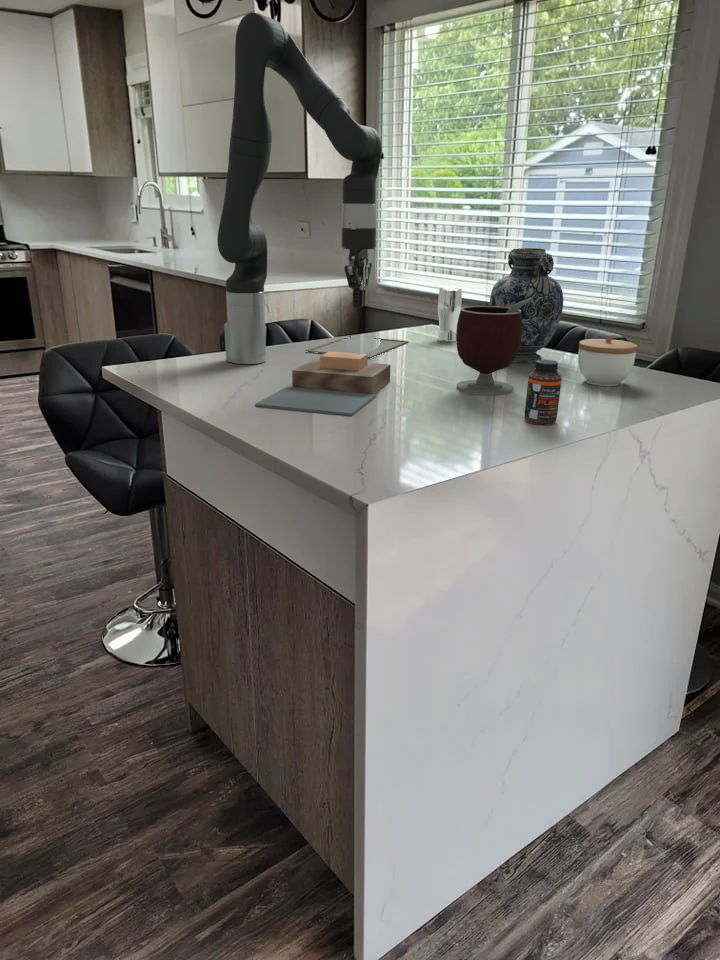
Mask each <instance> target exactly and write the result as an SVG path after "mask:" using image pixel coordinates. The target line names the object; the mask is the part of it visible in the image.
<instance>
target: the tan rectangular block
mask: <svg viewBox="0 0 720 960" xmlns="http://www.w3.org/2000/svg"><path fill="white" fill-rule="evenodd" d="M319 359H320V368H332V369H344V370H357V371H360V370H361V369H363V368H364V367H366V366H368V363H369V361H368V360H369V359H368V354H357V353H344V352H330V351H329V352H327V353H325V354H320V357H319Z"/></svg>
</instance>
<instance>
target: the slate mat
mask: <svg viewBox="0 0 720 960" xmlns="http://www.w3.org/2000/svg"><path fill="white" fill-rule="evenodd" d="M376 398H377V393H375V394H365V393H354V392H343V391H332V390H321V389H310V388H299V387H292V386H288V385H287V386H286V387H283V388H281V389H279V390H278V391H277V392H274V393H272V394H271V395H268V396H267V397H264V398H263V399H261V400H260V401H257V402H255V404H254V407H260V408H269V409H270V408H271V409H280V410H287V411H289V410H290V411H299V412H308V413H318V414H319V413H320V414H328V415H329V414H332V415H340V416H349V417H353V416H354V415H355V414H356V413H358V412H359V411H361V410H362V409H363V408H364V407H365V406H367V405H368V404H369V403H370V402H372V401H373V400H374V399H376Z"/></svg>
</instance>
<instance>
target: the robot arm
mask: <svg viewBox="0 0 720 960" xmlns="http://www.w3.org/2000/svg"><path fill="white" fill-rule="evenodd" d="M234 43H235V44H234V45H235V46H234V47H235V48H234V61H235V62H234V63H235V64H234V69H235V70H234V96H233V107H232V122H231V129H230V137H229V138H230V139H229V149H228V150H229V151H228V164H227V175H226V183H225V192H224V200H223V205H222V211H221V215H220V220H219V225H218V231H217V249H218V252H219V254H220V256H221V257H222V259H224V261H226V262H228V263H230V264H235V265H234V270H233V272H232V274H231V275H230V276H229V277H227V279H226V281H225V294H226V295H225V297H226V313H227V315H226V316H227V321H226V322H225V323H224V344H225V361H226V362H229V363H232V364H236V365H237V364H238V365H256V364H263V363H265V362H266V361H267V351H266V349H267V346H266V345H267V343H266V317H265V316H266V313H265V311H266V310H265V309H266V308H265V283H266V280H267V277H268V240H267V236H266V233H265V231H264V229H263V228H262V227H261V225H259V224H258V223H257V222H256V223H255V222H253V221H251V215H252V207H253V202H254V200H255V196H256V195H257V192H258V190H259V189H260V187H261V185H262V183H263V180H264V179H265V176H266V174H267V172H268V168H269V165H270V160H271V159H270V158H271V153H272V151H271V150H272V141H273V129H272V126H271V120H270V116H269V113H268V107H267V104H266V98H265V89H264V88H265V75H266V68H270V69H271V70H273V71H275V73H277V74H278V75H279V76H280V77H282V78H283V79H284V80H285V81H286V82H287V83H288V84H289V85H290V86H291V87H292V89H293V90H294V93H295V95H296V96H297V99H298V100H299V103H300V105H301V107H303V109H304V110H305V111H306V113H307V114H308V115H309V116H310V117H311V119H313V121H314V122H315V123H316V124H317V125H318V126H319V127H320V129H322V130H323V131H324V133H325V135H326V137H327V138H328V140H329V141H330V144H332V146H333V148H334V150H335V151H336V152H338V154H339V155H340V156H342V158H344V159H346V160H348V161H351V162H352V164H351V171H350V173H349V174H348V175H345V177H344V178H343V182H342V209H341V248H342V249H344V250H348V251H349V254H348V257H347V265H344V268H343V269H344V273H345V278H346V281H347V285H348V288H349V289H351V291H352V307H353V308H359V309H360V308H363V307H364V306H365V291H366V287H368V285H369V281H370V280H369V279H370V275H371V272H372V266H373V264H372V262H370V258H369V251H368V250H375V248H376V245H377V244H376V243H377V240H376V239H377V210H376V180H377V176H378V174H379V169H380V164H381V159H382V153H383V152H382V151H383V150H382V149H383V148H382V147H383V146H382V140H381V137H380V134H379V131H377V130H376V129H375V128H373V127H371V126H367V125H362V124H360V123H358V122H357V121H355V120H354V119H353V117H352V116H351V110H350V108H349V106H348V105H347V103H346V102H345V101H344V100H343V99H342V98H341V97H340V95H339V94H337V92H336V91H335V90H334V89H333V88H332V86H330V85H329V84H328V83H327V82H326V81H325V79H323V77H321V75H320V74H319V73H318V72H317V71H316V69H315V68H314V67H313V66H312V64H310V63H311V62H309V61H308V59H307V58H306V56H305V55H304V54H303V52H302V51H301V49H300V48H299V47H298V45H297V43H296V42H295V40H294V38H293V37H292V36H291V34H290V33H289V31H288V29H287V28H286V27H285V26H284V24H282V23H281V21H280V22H279V21H278V20H276V19H274V18H271V17H268V16H266V15H264V14H262V13H257V12H248V13H246V14H245V15H244V16H243V17H242V18H241V20H240V21H239V23H238V25H237V29H236V34H235V42H234Z"/></svg>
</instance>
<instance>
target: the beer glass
mask: <svg viewBox="0 0 720 960" xmlns="http://www.w3.org/2000/svg"><path fill="white" fill-rule="evenodd" d="M462 290H463V289H462V288H457V287H456V288H455V287H441V288H439V291H438V299H437V313H438V322H439V323H438V324H439V329H438V335H437V341H438V342H444V343H453V342H454V343H456V330H457V323H458V318H459V314H460V311H461V310H460V309H461V308H462V302H463V299H462V298H463V297H462V295H463V294H462V293H463V291H462Z"/></svg>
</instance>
